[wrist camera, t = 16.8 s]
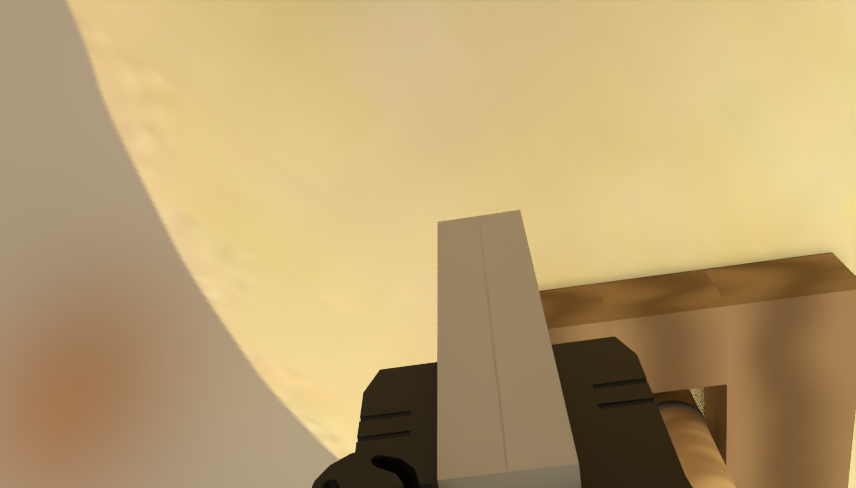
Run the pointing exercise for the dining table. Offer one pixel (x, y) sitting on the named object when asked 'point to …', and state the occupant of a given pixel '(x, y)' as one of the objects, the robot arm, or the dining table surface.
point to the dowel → (692, 440)
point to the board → (742, 357)
